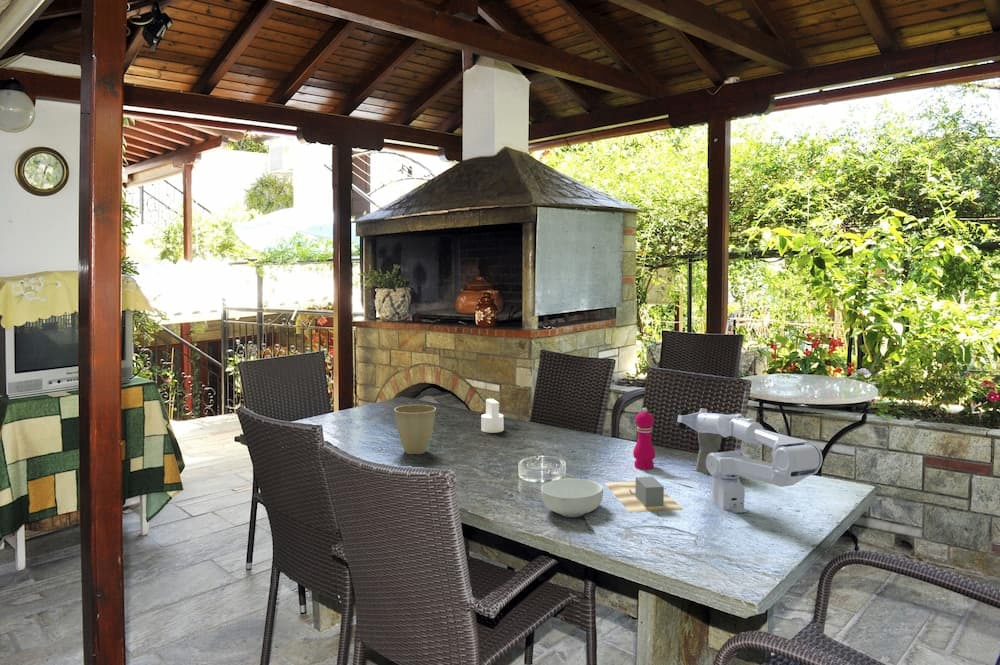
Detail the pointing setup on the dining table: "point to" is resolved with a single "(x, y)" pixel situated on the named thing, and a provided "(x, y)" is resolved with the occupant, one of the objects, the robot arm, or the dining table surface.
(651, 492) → the block
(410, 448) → the plant pot
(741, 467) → the robot arm
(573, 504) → the cereal bowl
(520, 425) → the dining table surface
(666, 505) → the birch board
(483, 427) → the base with upright slab
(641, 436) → the pepper mill
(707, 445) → the coffeepot
